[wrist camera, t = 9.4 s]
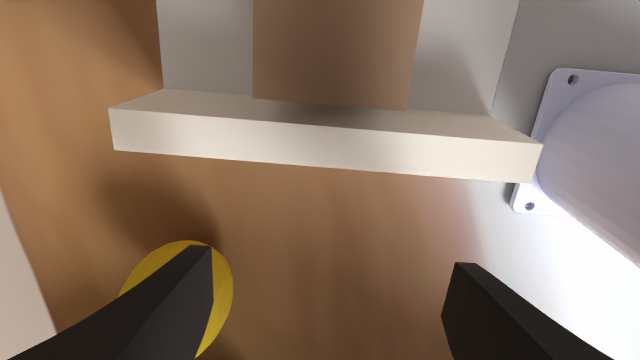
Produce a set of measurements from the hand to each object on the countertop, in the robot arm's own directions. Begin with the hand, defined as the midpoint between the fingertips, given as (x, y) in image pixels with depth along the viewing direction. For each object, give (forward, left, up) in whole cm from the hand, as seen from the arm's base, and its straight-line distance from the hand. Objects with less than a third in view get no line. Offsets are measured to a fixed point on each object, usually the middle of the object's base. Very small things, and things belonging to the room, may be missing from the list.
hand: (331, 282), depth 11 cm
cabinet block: (0, -8, -8) cm, 11 cm away
